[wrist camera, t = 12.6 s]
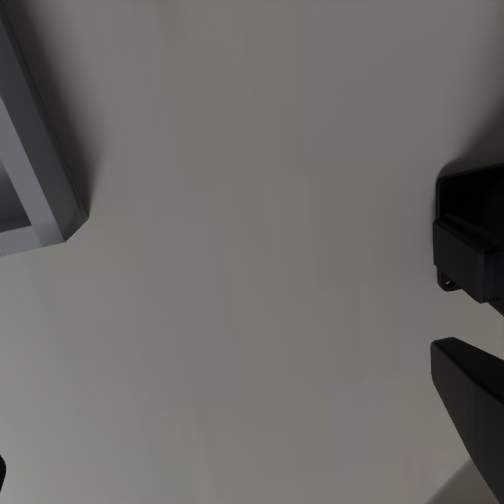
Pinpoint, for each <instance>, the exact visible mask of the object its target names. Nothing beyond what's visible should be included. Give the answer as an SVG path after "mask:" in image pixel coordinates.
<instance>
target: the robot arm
mask: <svg viewBox="0 0 504 504" xmlns="http://www.w3.org/2000/svg"><path fill="white" fill-rule="evenodd" d="M449 182H450V184H451V185H450V187H449V189H447V190H445V189H444V188H445V185H446V184H447V183H449ZM433 254H434V265H435V266H437V279H438V285H439V286H440V287H441V288H442V289H443V290H444V291H447V292H448V291H455V290H459V289H463V290H464V291H465V292H466V293H467V294H468V295H469V296H471V297H472V298H473V299H474V300H475V301H477V302H478V303H480V304H481V303H486V302H487V303H489V304H490V305H491V306H492V307H493V308H494V309H496V310H497V311H498V312H499V313H500V314H501V315H503V316H504V163H501V164H496V165H492V166H487V167H483V168H478V169H474V170H469V171H465V172H460V173H456V174H451V175H446V176H444V177H441V178H440V179H439V180H438V182H437V183H436V219H435V220H434V222H433ZM448 280H451V281H450V282H449V283H448V284H446V282H447V281H448ZM430 351H431V375H432V380H433V383H434V385H435V387H436V389H437V391H438V393H439V395H440V397H441V399H442V401H443V403H444V405H445V407H446V409H447V411H448V413H449V415H450V417H451V419H452V421H453V423H454V425H455V427H456V429H457V431H458V433H459V435H460V437H461V439H462V441H463V443H464V445H465V447H466V449H467V451H468V453H469V455H470V457H471V458H472V460H473V462H474V464H475V465H476V467H477V468H478V470H479V472H480V474H481V475H482V477H483V478H484V480H485V481H486V483H487V485H488V486H489V488H490V489H491V491H492V493H493V494H494V496H495V497H496V499H497V500H498V502H499V503H500V504H504V360H502V359H500V358H498V357H496V356H493V355H491V354H489V353H487V352H485V351H483V350H481V349H478V348H476V347H474V346H472V345H470V344H468V343H466V342H463V341H461V340H459V339H457V338H454V337H448V338H444V339H439V340H435V341H433V342H432V343H431V347H430ZM5 475H6V464H5V461H4V459H3V458H2V457H1V455H0V492H1V488H2V485H3V482H4V478H5Z"/></svg>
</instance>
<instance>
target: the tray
mask: <svg viewBox="0 0 504 504" xmlns="http://www.w3.org/2000/svg"><path fill="white" fill-rule="evenodd" d="M87 220H88V216H87V214H86V211H85V209H84V206H83V204H82V201H81V199H80V196H79V194H78V191H77V189H76V186H75V184H74V181H73V179H72V176H71V174H70V172H69V169H68V167H67V164H66V162H65V159H64V157H63V154H62V152H61V149H60V147H59V144H58V142H57V139H56V137H55V134H54V132H53V129H52V127H51V124H50V122H49V119H48V117H47V114H46V112H45V110H44V107H43V105H42V102H41V100H40V97H39V95H38V92H37V90H36V87H35V85H34V82H33V80H32V77H31V75H30V72H29V70H28V67H27V65H26V62H25V60H24V57H23V55H22V52H21V50H20V47H19V45H18V43H17V40H16V38H15V35H14V33H13V30H12V28H11V25H10V23H9V20H8V18H7V15H6V13H5V10H4V8H3V5H2V3H1V0H0V256H5V255H9V254H14V253H18V252H23V251H27V250H32V249H36V248H41V247H45V246H50V245H54V244H59V243H63V242H66V241H67V240H68V239H69V238H70V237H71V236H72V235H73V234H74V233H75V232H76V231H77V230H78V229H79V228H80V227H81V226H82V225H83V224H84V223H85V222H86V221H87Z"/></svg>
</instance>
